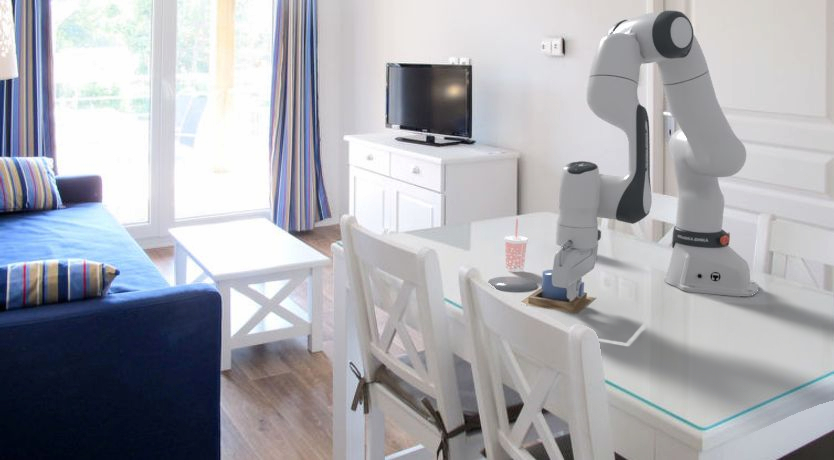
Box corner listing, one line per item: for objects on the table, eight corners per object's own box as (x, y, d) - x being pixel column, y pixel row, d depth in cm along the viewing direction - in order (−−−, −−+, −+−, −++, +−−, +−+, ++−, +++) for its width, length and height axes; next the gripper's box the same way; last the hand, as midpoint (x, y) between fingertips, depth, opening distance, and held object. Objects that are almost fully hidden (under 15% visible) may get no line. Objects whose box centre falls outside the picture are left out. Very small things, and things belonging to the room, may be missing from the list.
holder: (595, 300, 208) (596, 292, 207) (577, 316, 196) (577, 307, 195) (539, 291, 214) (539, 283, 214) (518, 306, 202) (518, 297, 201)
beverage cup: (517, 267, 236) (519, 216, 233) (530, 273, 230) (533, 220, 227) (498, 269, 233) (500, 217, 230) (511, 275, 227) (514, 222, 224)
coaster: (543, 284, 220) (544, 280, 219) (526, 296, 209) (526, 292, 209) (499, 277, 225) (499, 274, 225) (480, 289, 215) (480, 285, 214)
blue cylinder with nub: (537, 301, 203) (538, 274, 202) (546, 294, 209) (548, 268, 208) (577, 308, 199) (579, 280, 198) (585, 301, 205) (587, 274, 203)
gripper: (575, 248, 183) (571, 312, 186) (603, 230, 201) (599, 288, 204) (546, 244, 186) (542, 307, 189) (576, 226, 204) (573, 284, 207)
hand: (572, 297), depth 196 cm, fingers closed
